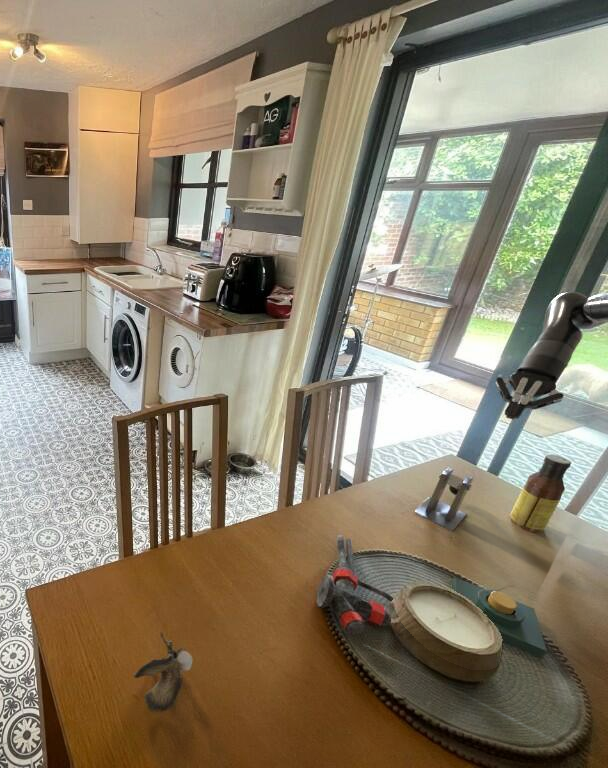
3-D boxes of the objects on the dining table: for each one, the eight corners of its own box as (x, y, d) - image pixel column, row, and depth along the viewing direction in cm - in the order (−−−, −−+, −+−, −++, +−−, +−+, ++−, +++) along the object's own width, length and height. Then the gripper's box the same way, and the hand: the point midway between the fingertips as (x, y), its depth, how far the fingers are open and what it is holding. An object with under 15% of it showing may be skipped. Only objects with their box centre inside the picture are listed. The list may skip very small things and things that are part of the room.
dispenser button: (510, 603, 78) (514, 597, 77) (514, 618, 75) (518, 612, 74) (486, 594, 79) (489, 587, 79) (488, 608, 77) (492, 601, 76)
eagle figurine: (146, 639, 73) (122, 677, 66) (172, 623, 70) (150, 663, 62) (176, 677, 71) (155, 722, 64) (204, 664, 68) (185, 709, 60)
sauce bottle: (544, 529, 100) (586, 462, 92) (537, 539, 97) (580, 471, 89) (509, 513, 105) (545, 448, 97) (501, 523, 102) (538, 457, 94)
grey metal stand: (428, 500, 109) (445, 460, 104) (465, 517, 104) (485, 476, 98) (412, 515, 104) (430, 474, 99) (450, 534, 98) (471, 492, 93)
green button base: (528, 615, 79) (538, 601, 78) (541, 659, 72) (552, 644, 70) (450, 584, 86) (457, 571, 84) (454, 621, 78) (462, 607, 76)
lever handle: (446, 492, 109) (453, 480, 109) (463, 499, 107) (470, 487, 106) (441, 483, 100) (449, 470, 100) (460, 491, 97) (467, 477, 97)
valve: (405, 671, 71) (314, 626, 76) (383, 567, 93) (314, 537, 98) (424, 649, 69) (328, 604, 74) (397, 547, 90) (324, 517, 95)
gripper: (511, 346, 106) (477, 400, 105) (586, 362, 96) (549, 422, 95) (508, 361, 111) (476, 413, 110) (579, 377, 101) (544, 434, 100)
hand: (510, 417), depth 102 cm, fingers closed
